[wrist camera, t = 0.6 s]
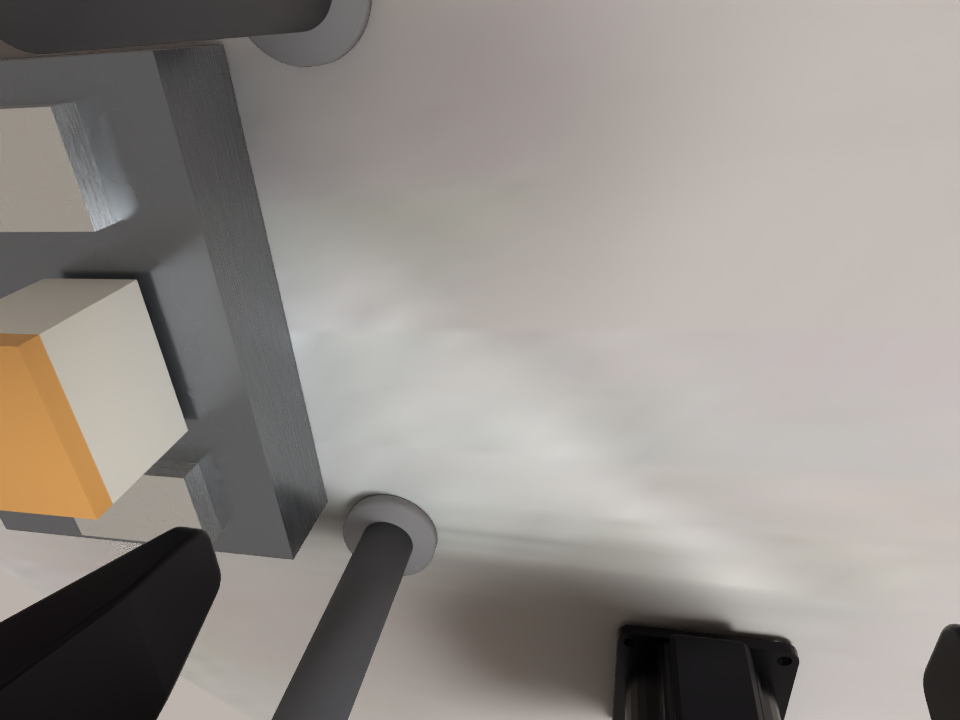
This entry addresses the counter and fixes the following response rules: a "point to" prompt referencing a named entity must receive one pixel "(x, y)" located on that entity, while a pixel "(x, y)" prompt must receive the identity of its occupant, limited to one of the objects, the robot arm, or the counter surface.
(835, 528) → the counter surface
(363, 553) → the post
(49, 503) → the slider
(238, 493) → the panel
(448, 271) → the counter surface
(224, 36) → the post
